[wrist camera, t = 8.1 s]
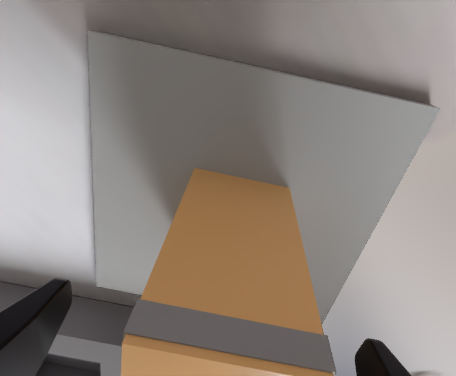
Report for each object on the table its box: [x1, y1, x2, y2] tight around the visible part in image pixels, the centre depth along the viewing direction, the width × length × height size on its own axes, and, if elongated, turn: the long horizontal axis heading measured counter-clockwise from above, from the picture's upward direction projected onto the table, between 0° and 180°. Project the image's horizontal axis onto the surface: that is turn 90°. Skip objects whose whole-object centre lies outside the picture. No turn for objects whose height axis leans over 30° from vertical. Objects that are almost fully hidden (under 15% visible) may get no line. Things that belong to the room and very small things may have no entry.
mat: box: [87, 31, 440, 324], centre depth 14 cm, size 13×13×1 cm
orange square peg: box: [121, 168, 336, 376], centre depth 10 cm, size 4×4×8 cm
